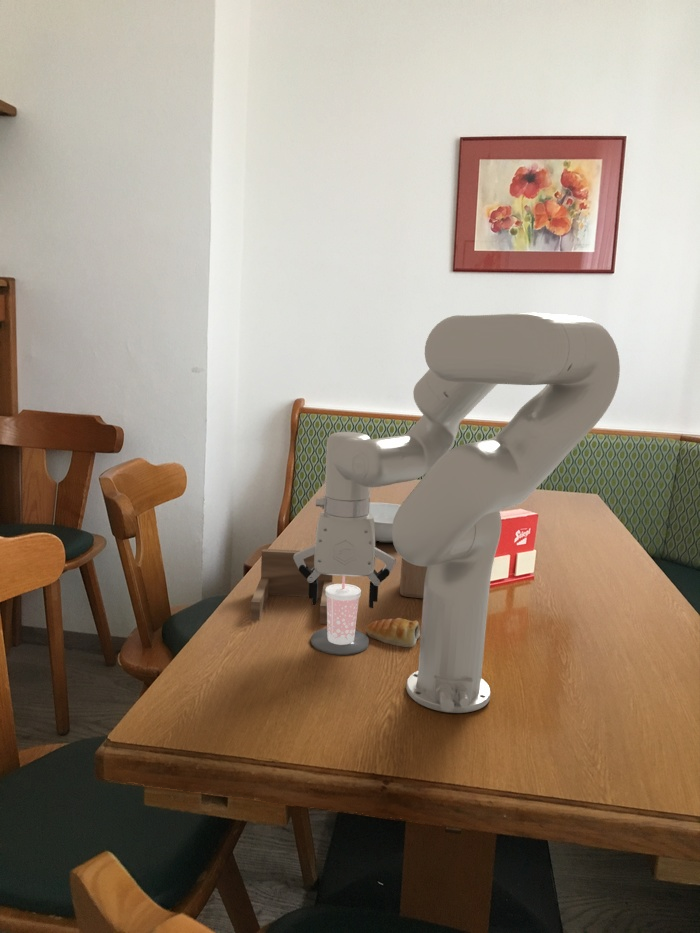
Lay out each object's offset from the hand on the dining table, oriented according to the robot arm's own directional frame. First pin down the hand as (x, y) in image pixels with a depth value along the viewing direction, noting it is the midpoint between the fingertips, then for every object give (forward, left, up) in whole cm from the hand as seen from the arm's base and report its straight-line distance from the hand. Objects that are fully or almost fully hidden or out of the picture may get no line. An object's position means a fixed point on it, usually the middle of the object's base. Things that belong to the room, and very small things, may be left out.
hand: (342, 603), depth 128 cm
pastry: (+3, -10, -8) cm, 13 cm away
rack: (+15, +10, -7) cm, 19 cm away
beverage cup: (0, 0, -7) cm, 7 cm away
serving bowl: (+65, -9, -7) cm, 66 cm away
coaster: (0, 0, -7) cm, 7 cm away
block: (+27, -17, -7) cm, 33 cm away
